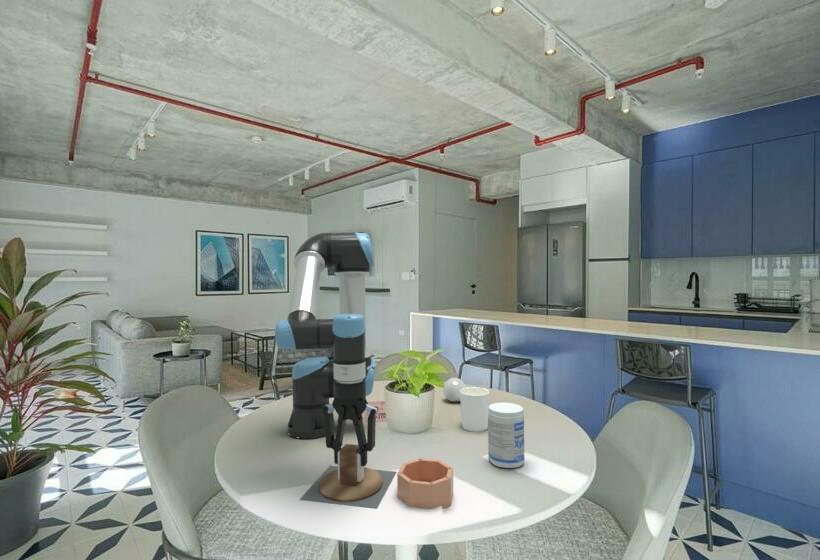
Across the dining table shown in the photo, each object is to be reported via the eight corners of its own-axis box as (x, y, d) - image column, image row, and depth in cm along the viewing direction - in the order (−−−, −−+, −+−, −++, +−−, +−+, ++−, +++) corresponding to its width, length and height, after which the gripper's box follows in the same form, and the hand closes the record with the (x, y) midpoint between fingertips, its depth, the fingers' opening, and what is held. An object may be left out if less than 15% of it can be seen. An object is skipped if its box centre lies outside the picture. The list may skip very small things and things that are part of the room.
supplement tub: (523, 472, 108) (523, 414, 108) (486, 467, 111) (485, 411, 110) (525, 456, 117) (524, 403, 117) (490, 452, 120) (490, 400, 120)
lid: (307, 497, 94) (306, 458, 94) (333, 467, 109) (333, 433, 109) (371, 505, 91) (371, 464, 91) (389, 472, 106) (389, 438, 106)
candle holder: (488, 422, 144) (488, 387, 144) (491, 433, 134) (491, 395, 134) (459, 421, 145) (459, 386, 145) (460, 432, 135) (459, 395, 135)
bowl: (393, 508, 92) (393, 480, 92) (406, 481, 103) (405, 457, 103) (448, 514, 89) (448, 486, 89) (455, 486, 101) (454, 461, 101)
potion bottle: (441, 402, 170) (478, 410, 167) (439, 394, 163) (478, 401, 159) (446, 381, 175) (482, 387, 171) (444, 372, 167) (482, 378, 164)
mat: (299, 504, 94) (299, 499, 94) (330, 469, 110) (330, 465, 110) (377, 513, 90) (376, 508, 90) (396, 475, 106) (396, 471, 106)
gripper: (309, 382, 98) (310, 482, 98) (379, 385, 94) (381, 489, 95) (322, 374, 105) (324, 467, 106) (388, 377, 102) (389, 473, 102)
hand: (351, 477), depth 100 cm, fingers closed on lid, 4 cm apart
